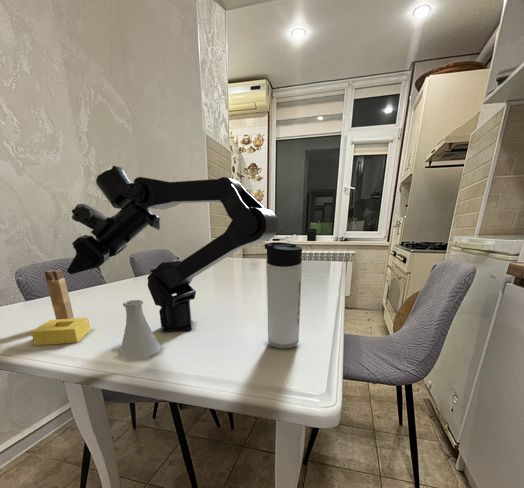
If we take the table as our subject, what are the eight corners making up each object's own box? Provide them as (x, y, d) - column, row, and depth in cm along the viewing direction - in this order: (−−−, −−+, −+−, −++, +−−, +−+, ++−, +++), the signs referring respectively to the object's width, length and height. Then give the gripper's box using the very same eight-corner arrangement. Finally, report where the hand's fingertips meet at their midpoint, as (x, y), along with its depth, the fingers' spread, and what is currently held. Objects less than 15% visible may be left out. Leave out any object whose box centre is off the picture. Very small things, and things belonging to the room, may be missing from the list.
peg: (74, 321, 74) (62, 269, 70) (69, 324, 72) (56, 271, 67) (63, 321, 74) (50, 269, 70) (57, 324, 72) (43, 271, 67)
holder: (91, 329, 68) (88, 317, 67) (77, 342, 61) (74, 329, 60) (53, 332, 67) (49, 319, 66) (34, 345, 59) (30, 331, 58)
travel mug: (261, 337, 61) (258, 241, 51) (289, 330, 63) (291, 236, 53) (275, 352, 56) (274, 249, 46) (304, 344, 59) (309, 243, 48)
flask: (147, 362, 52) (139, 308, 48) (111, 358, 53) (101, 305, 50) (167, 346, 59) (161, 298, 55) (135, 343, 60) (127, 296, 56)
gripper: (110, 191, 69) (65, 232, 72) (78, 193, 53) (21, 246, 55) (145, 230, 74) (101, 268, 77) (126, 243, 58) (71, 290, 60)
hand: (77, 267), depth 67 cm, fingers open, 9 cm apart
